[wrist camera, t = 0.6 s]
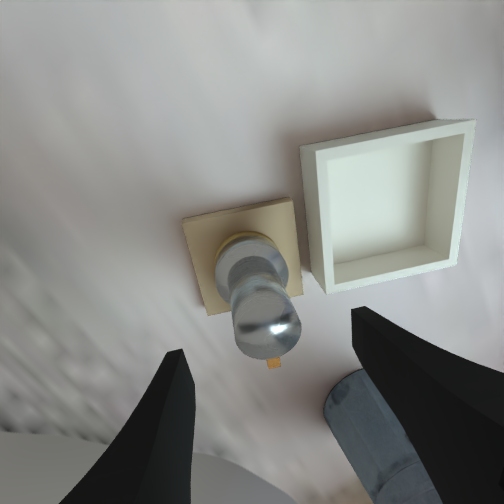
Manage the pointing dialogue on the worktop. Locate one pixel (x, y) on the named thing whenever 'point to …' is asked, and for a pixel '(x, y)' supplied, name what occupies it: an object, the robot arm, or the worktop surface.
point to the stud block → (237, 225)
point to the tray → (386, 202)
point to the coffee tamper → (258, 297)
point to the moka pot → (377, 444)
